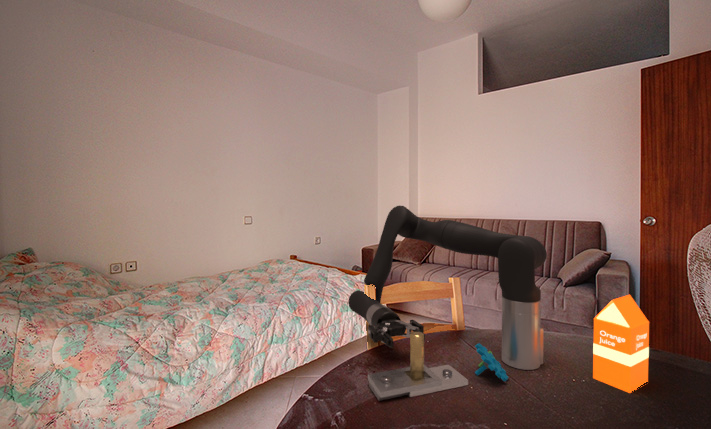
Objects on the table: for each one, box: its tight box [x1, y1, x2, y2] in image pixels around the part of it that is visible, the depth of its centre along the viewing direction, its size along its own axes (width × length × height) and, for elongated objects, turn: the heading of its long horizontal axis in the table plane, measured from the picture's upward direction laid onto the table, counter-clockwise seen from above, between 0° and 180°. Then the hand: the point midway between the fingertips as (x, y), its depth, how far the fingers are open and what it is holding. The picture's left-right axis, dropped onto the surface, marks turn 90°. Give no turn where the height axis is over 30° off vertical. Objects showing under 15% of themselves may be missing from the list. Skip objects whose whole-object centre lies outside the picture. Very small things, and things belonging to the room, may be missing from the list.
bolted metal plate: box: [367, 363, 469, 402], centre depth 80 cm, size 22×8×3 cm, turn 108°
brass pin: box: [409, 331, 425, 382], centre depth 80 cm, size 3×3×12 cm
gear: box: [474, 342, 510, 382], centre depth 84 cm, size 11×6×10 cm
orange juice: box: [592, 294, 650, 394], centre depth 81 cm, size 8×9×20 cm
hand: (407, 341), depth 84 cm, fingers open, 8 cm apart
